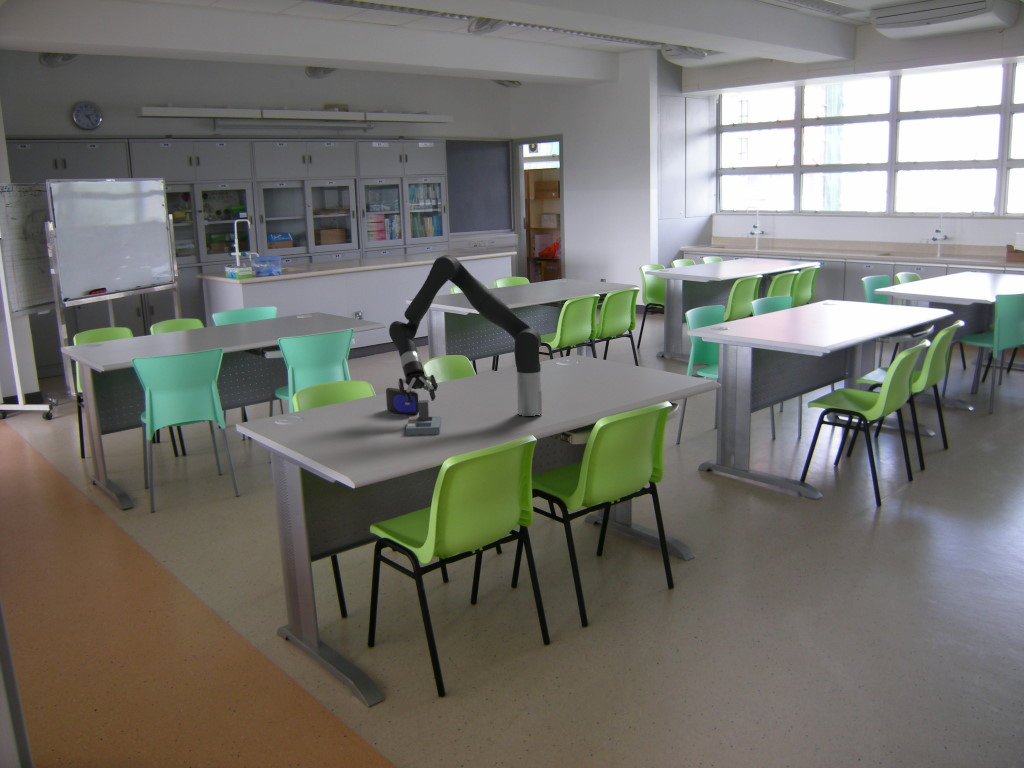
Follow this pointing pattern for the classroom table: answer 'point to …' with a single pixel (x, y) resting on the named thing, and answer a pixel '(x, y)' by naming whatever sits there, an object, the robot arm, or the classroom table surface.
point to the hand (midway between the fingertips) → (422, 401)
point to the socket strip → (423, 426)
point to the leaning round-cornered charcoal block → (401, 402)
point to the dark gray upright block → (423, 410)
